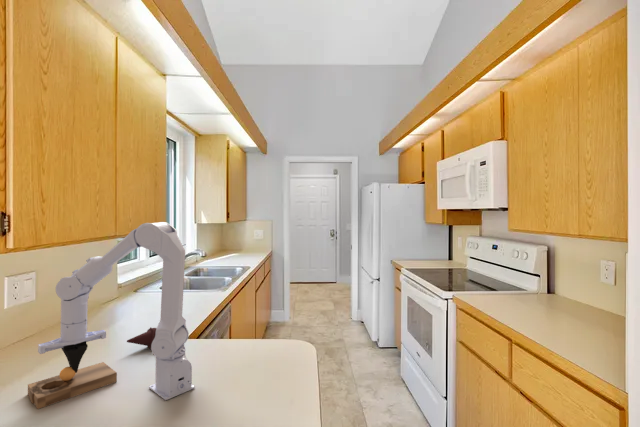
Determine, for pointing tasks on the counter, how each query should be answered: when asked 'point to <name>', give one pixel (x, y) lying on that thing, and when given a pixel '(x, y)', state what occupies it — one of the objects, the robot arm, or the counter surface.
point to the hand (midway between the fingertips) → (73, 372)
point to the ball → (67, 374)
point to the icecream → (144, 338)
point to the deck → (70, 385)
